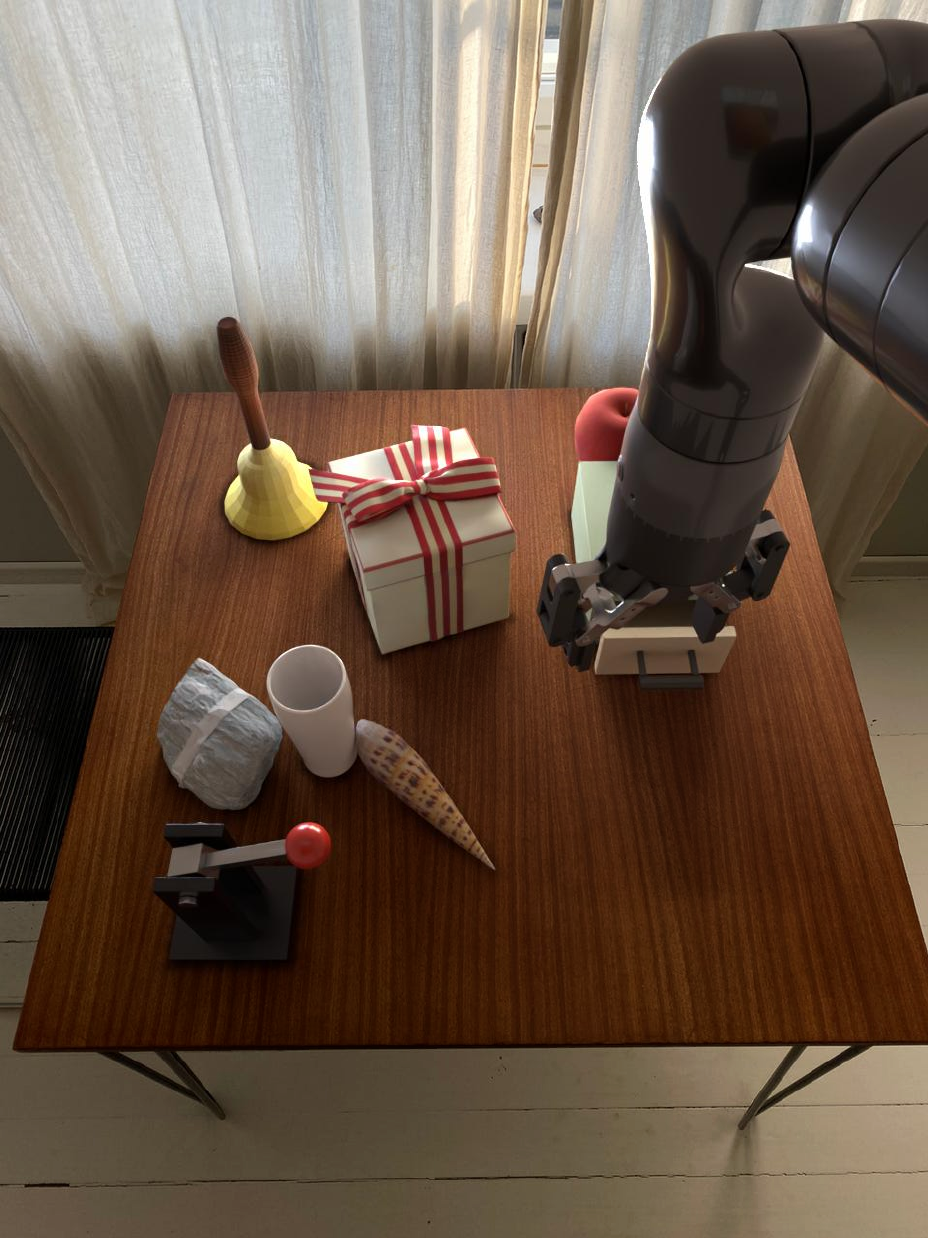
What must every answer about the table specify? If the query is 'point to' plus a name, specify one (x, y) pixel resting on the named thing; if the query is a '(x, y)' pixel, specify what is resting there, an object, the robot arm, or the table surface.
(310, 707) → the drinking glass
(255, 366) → the handbell
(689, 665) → the drawer
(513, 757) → the table surface
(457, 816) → the seashell
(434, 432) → the gift box
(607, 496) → the cabinet
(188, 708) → the decorative stone
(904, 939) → the table surface
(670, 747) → the table surface
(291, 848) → the lever
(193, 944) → the bracket
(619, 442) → the apple
